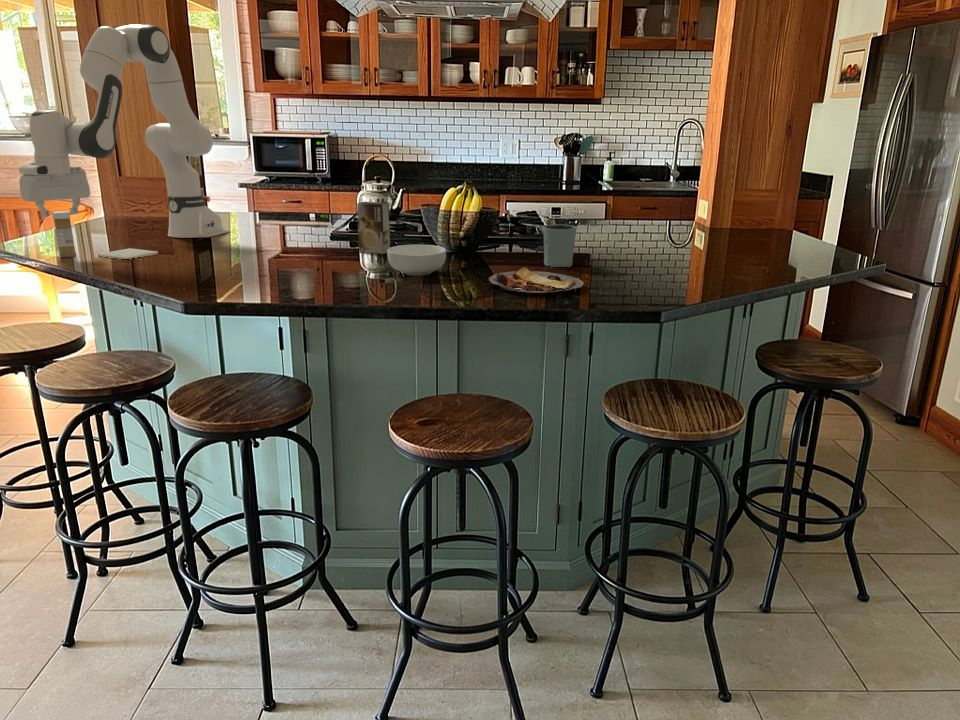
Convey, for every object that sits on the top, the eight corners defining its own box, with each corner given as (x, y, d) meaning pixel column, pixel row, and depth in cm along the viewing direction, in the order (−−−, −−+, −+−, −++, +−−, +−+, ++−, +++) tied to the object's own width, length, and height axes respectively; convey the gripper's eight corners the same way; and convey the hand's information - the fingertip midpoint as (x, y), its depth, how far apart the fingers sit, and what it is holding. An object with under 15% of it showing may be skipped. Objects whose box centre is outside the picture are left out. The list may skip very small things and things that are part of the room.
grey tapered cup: (576, 263, 226) (578, 225, 222) (571, 269, 216) (574, 229, 213) (544, 261, 228) (546, 223, 224) (538, 267, 219) (540, 227, 215)
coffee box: (391, 251, 240) (390, 202, 235) (384, 254, 234) (383, 204, 229) (365, 249, 242) (364, 201, 237) (358, 252, 236) (356, 203, 231)
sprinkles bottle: (74, 254, 223) (67, 210, 219) (77, 256, 220) (70, 212, 216) (57, 255, 220) (50, 211, 216) (61, 258, 217) (53, 213, 213)
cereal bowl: (381, 269, 211) (381, 245, 209) (435, 266, 217) (435, 243, 215) (396, 281, 196) (395, 255, 194) (453, 277, 202) (454, 252, 200)
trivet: (130, 250, 231) (129, 248, 231) (158, 254, 226) (157, 251, 226) (97, 256, 220) (97, 253, 220) (126, 260, 216) (125, 257, 216)
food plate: (471, 284, 193) (471, 271, 192) (529, 274, 209) (529, 262, 208) (541, 304, 177) (542, 290, 176) (598, 291, 193) (599, 279, 191)
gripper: (77, 166, 222) (83, 211, 226) (12, 168, 204) (20, 217, 208) (91, 166, 220) (97, 212, 224) (27, 169, 202) (35, 219, 206)
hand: (60, 215), depth 216 cm, fingers open, 8 cm apart
